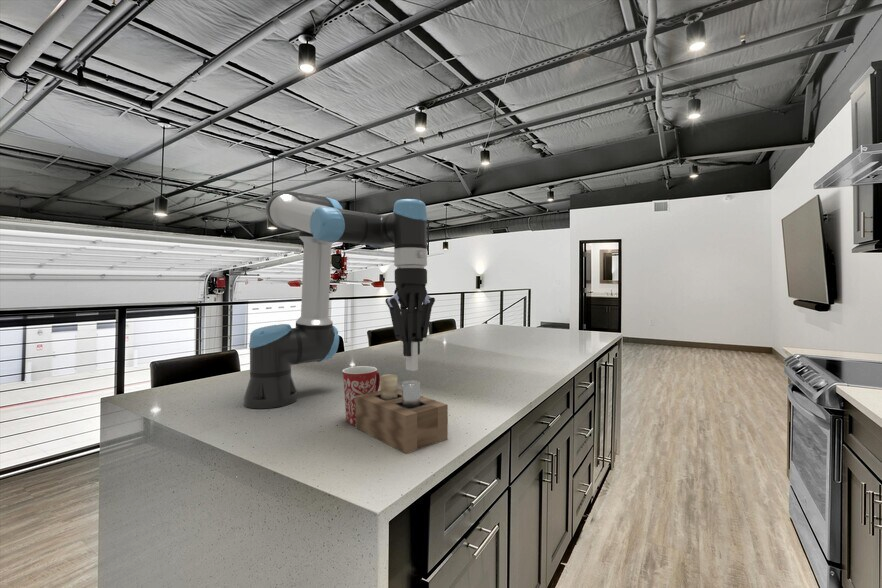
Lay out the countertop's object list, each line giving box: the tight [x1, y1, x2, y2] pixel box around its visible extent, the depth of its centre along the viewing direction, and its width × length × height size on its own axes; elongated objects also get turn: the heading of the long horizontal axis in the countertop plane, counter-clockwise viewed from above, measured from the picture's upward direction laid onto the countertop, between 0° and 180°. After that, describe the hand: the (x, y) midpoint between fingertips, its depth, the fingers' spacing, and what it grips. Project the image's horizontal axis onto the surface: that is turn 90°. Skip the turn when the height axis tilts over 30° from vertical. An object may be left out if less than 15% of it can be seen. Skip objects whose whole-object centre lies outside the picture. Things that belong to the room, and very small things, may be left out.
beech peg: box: [379, 373, 398, 400], centre depth 97 cm, size 4×4×8 cm
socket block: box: [355, 387, 449, 454], centre depth 94 cm, size 21×12×8 cm, turn 42°
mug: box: [341, 365, 381, 425], centre depth 105 cm, size 13×9×14 cm
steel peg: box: [401, 379, 421, 409], centre depth 91 cm, size 4×4×8 cm
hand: (411, 369), depth 90 cm, fingers closed
